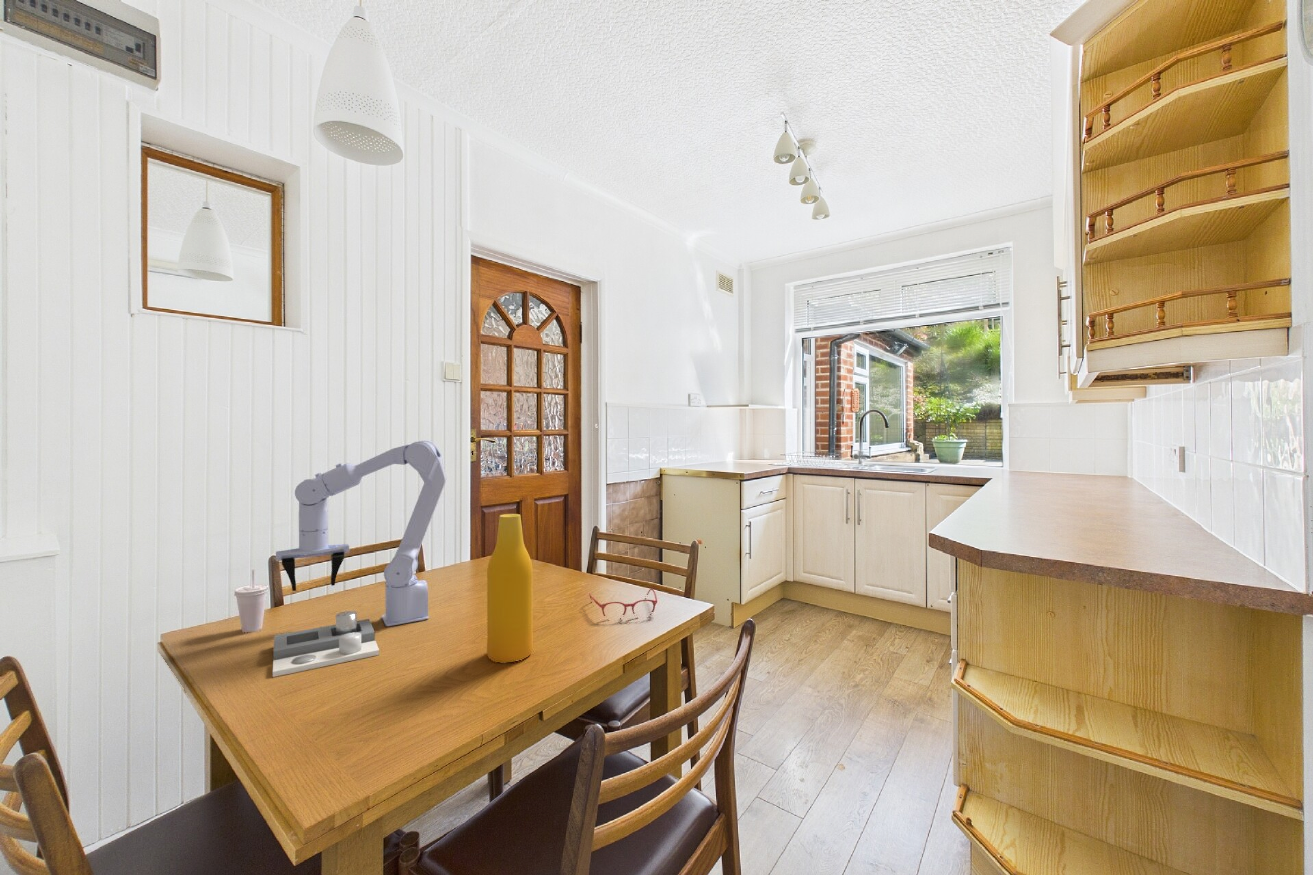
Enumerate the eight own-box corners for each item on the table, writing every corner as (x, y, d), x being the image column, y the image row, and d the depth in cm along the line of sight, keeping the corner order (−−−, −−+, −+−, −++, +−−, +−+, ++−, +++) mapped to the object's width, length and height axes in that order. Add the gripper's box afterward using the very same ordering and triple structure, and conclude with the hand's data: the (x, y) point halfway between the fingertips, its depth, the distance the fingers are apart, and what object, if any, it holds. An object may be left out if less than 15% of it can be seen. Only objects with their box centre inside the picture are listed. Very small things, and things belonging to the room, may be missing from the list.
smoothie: (250, 635, 122) (249, 574, 122) (227, 633, 123) (226, 572, 123) (275, 625, 128) (275, 566, 128) (253, 623, 129) (252, 565, 129)
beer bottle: (477, 659, 110) (476, 517, 109) (505, 643, 118) (505, 510, 118) (515, 667, 106) (515, 520, 106) (541, 649, 115) (541, 513, 114)
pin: (354, 636, 122) (354, 609, 122) (358, 641, 119) (358, 614, 119) (334, 640, 119) (334, 613, 119) (337, 646, 116) (337, 618, 116)
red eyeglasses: (594, 624, 131) (594, 603, 131) (587, 603, 146) (587, 585, 146) (663, 618, 135) (663, 598, 135) (649, 598, 150) (649, 581, 150)
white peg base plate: (375, 645, 117) (375, 626, 117) (379, 654, 112) (379, 635, 112) (273, 665, 107) (273, 645, 107) (272, 677, 102) (272, 655, 102)
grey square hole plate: (369, 629, 126) (369, 618, 126) (374, 643, 118) (374, 632, 118) (274, 646, 116) (274, 635, 116) (273, 663, 108) (273, 651, 108)
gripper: (347, 524, 134) (347, 578, 135) (275, 530, 126) (276, 587, 127) (349, 528, 129) (350, 585, 129) (275, 535, 120) (276, 595, 121)
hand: (313, 587), depth 127 cm, fingers open, 7 cm apart
